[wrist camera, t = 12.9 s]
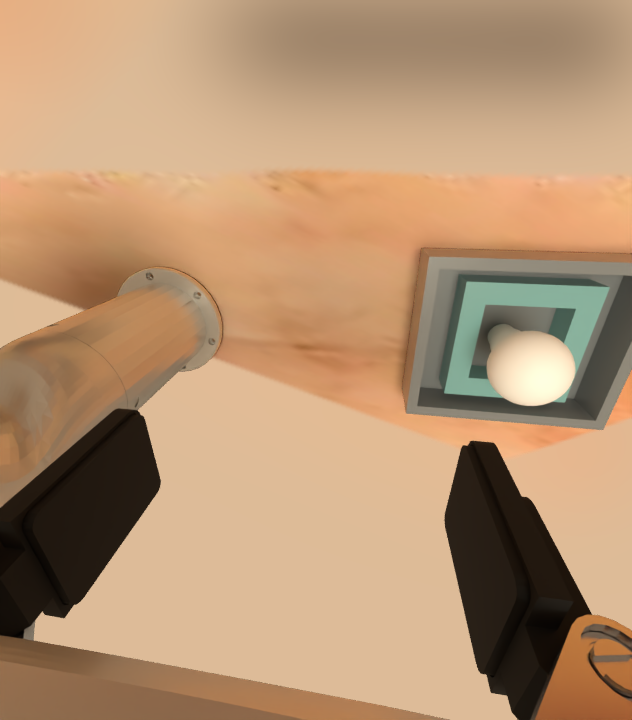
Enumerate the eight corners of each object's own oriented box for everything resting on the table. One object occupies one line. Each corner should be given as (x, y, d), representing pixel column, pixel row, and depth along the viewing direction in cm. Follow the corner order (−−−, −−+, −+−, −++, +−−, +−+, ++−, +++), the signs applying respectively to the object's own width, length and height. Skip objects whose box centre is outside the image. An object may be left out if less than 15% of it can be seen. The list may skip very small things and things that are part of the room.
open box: (636, 253, 31) (681, 264, 27) (575, 402, 38) (603, 430, 34) (421, 247, 33) (429, 256, 29) (401, 388, 41) (405, 413, 36)
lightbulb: (525, 294, 33) (586, 337, 23) (537, 349, 35) (597, 409, 25) (459, 316, 35) (490, 364, 25) (474, 366, 37) (508, 429, 27)
